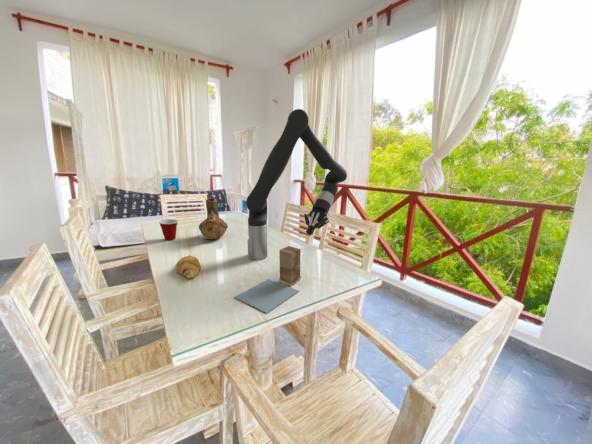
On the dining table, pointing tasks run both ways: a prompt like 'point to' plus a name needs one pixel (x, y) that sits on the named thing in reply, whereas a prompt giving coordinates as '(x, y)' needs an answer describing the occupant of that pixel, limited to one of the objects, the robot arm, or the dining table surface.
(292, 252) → the walnut block
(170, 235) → the plastic cup
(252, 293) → the slate mat
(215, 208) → the ceramic vessel
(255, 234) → the robot arm
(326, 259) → the dining table surface
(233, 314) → the dining table surface
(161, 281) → the dining table surface
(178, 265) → the croissant
